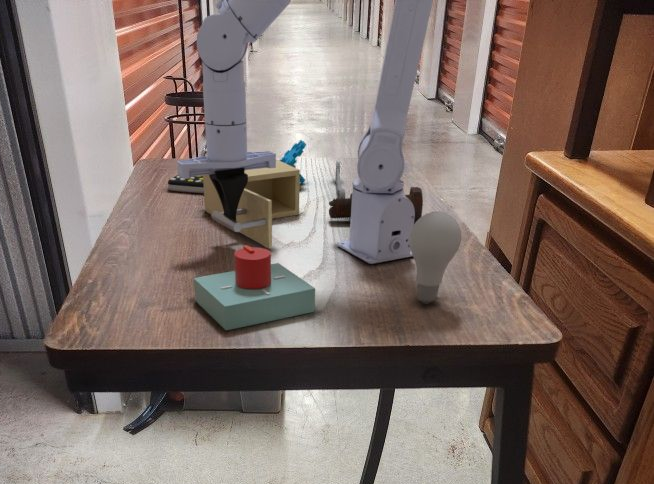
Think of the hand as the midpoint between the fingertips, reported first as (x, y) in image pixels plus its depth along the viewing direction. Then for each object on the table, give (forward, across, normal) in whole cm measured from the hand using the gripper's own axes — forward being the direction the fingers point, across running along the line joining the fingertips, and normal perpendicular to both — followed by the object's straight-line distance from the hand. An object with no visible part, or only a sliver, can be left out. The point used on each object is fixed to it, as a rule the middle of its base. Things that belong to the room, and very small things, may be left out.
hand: (230, 224), depth 100 cm
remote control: (+3, -8, -32) cm, 33 cm away
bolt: (+3, -26, 0) cm, 26 cm away
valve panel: (+3, +7, +23) cm, 24 cm away
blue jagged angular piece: (+3, -24, -28) cm, 37 cm away
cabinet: (+3, -10, -14) cm, 18 cm away
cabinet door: (+3, -1, -2) cm, 3 cm away
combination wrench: (+3, -30, -18) cm, 35 cm away
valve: (0, +7, +23) cm, 24 cm away
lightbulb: (+3, -13, +32) cm, 35 cm away
